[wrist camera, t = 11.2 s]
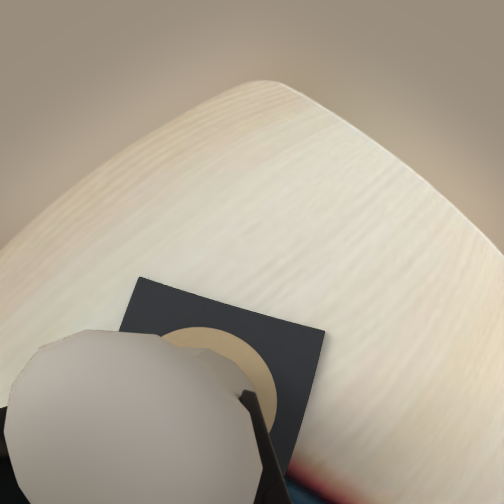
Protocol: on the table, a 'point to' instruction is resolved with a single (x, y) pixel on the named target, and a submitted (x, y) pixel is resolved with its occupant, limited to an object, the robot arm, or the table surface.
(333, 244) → the table surface
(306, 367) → the coaster
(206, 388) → the salt shaker
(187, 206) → the table surface
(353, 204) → the table surface
